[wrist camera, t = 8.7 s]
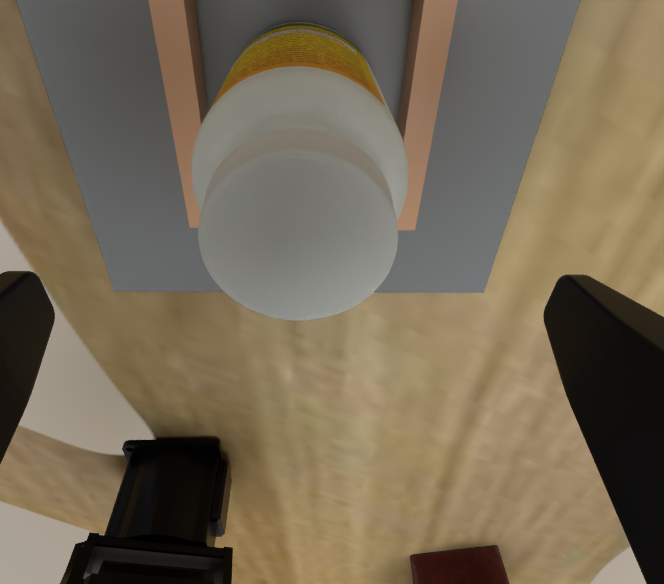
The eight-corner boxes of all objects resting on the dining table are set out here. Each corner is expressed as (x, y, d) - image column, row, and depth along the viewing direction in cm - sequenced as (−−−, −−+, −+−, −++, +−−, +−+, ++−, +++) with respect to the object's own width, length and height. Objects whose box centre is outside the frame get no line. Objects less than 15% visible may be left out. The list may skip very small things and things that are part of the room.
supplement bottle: (400, 127, 17) (473, 284, 10) (284, 195, 19) (270, 375, 11) (327, -21, 14) (353, 43, 7) (195, 75, 16) (97, 214, 8)
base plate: (121, 278, 22) (104, 312, 20) (-69, -314, 11) (-149, -365, 9) (477, 280, 23) (493, 312, 21) (645, -254, 12) (710, -288, 10)
